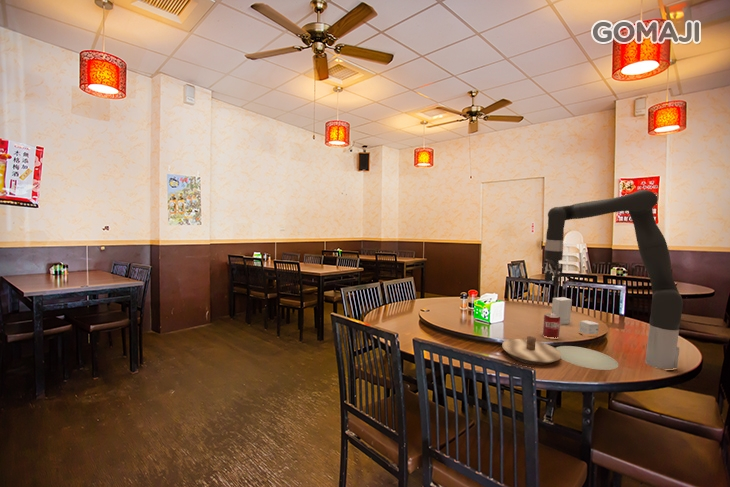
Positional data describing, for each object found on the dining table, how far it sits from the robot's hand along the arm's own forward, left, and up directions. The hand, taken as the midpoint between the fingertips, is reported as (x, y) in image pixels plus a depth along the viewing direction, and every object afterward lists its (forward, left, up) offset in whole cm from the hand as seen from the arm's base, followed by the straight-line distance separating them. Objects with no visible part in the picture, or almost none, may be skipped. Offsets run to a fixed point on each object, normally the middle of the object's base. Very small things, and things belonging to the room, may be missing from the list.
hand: (551, 283), depth 159 cm
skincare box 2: (-28, -16, -30) cm, 44 cm away
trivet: (-10, +14, -30) cm, 35 cm away
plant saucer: (+14, +16, -31) cm, 37 cm away
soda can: (-6, -9, -30) cm, 32 cm away
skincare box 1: (-23, -35, -30) cm, 52 cm away
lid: (+14, +16, -27) cm, 35 cm away
